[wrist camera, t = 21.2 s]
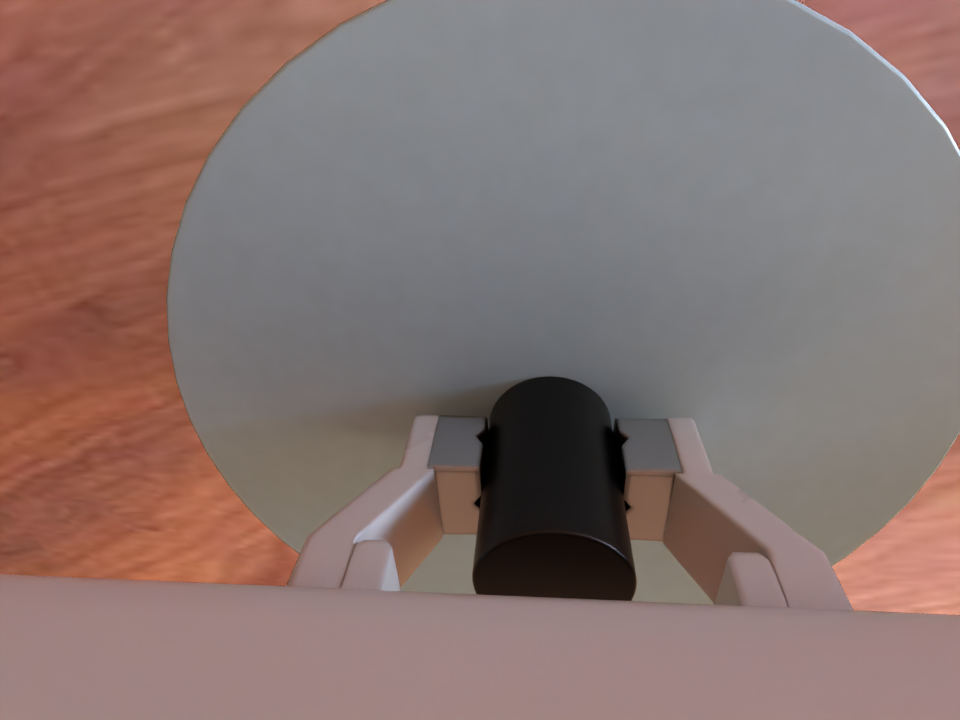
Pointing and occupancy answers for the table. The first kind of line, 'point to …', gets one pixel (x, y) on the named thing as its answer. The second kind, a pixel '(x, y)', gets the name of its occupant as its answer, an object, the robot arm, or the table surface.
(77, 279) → the table surface
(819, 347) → the pan lid
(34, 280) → the table surface
